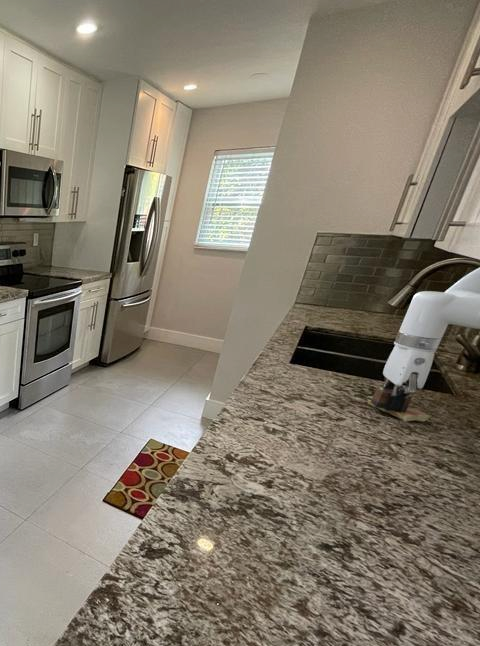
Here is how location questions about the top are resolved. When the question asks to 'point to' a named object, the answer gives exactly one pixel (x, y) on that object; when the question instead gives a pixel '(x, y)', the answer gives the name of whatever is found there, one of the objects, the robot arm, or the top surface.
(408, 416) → the shard
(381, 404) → the eraser
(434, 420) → the top surface
